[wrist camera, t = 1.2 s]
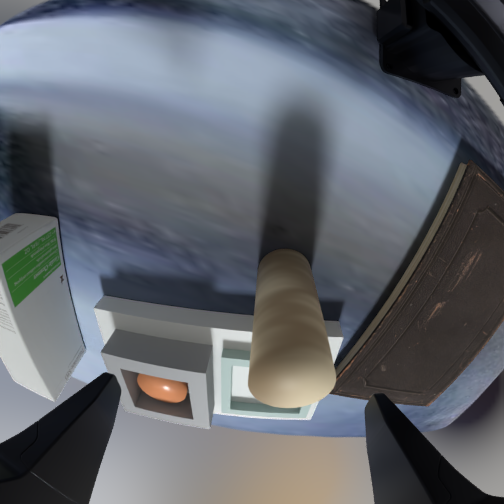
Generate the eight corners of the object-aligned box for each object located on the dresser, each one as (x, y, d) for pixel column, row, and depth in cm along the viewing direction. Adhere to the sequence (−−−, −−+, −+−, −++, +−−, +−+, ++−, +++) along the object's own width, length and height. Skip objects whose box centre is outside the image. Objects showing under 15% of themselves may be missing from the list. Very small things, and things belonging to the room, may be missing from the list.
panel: (338, 321, 22) (351, 365, 17) (309, 405, 27) (312, 443, 22) (104, 295, 22) (76, 329, 18) (129, 382, 27) (114, 415, 23)
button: (186, 367, 21) (183, 376, 20) (190, 398, 23) (188, 406, 22) (136, 358, 21) (132, 366, 20) (145, 389, 23) (142, 396, 22)
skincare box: (58, 214, 19) (90, 349, 26) (13, 210, 19) (48, 335, 26) (-10, 261, 12) (58, 405, 19) (-48, 249, 11) (14, 383, 18)
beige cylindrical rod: (314, 251, 19) (347, 356, 10) (306, 297, 21) (324, 408, 12) (260, 246, 19) (250, 351, 10) (255, 293, 21) (245, 405, 12)
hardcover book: (321, 375, 25) (324, 393, 23) (454, 155, 16) (471, 160, 14) (425, 393, 27) (430, 406, 25) (535, 237, 18) (548, 245, 15)
